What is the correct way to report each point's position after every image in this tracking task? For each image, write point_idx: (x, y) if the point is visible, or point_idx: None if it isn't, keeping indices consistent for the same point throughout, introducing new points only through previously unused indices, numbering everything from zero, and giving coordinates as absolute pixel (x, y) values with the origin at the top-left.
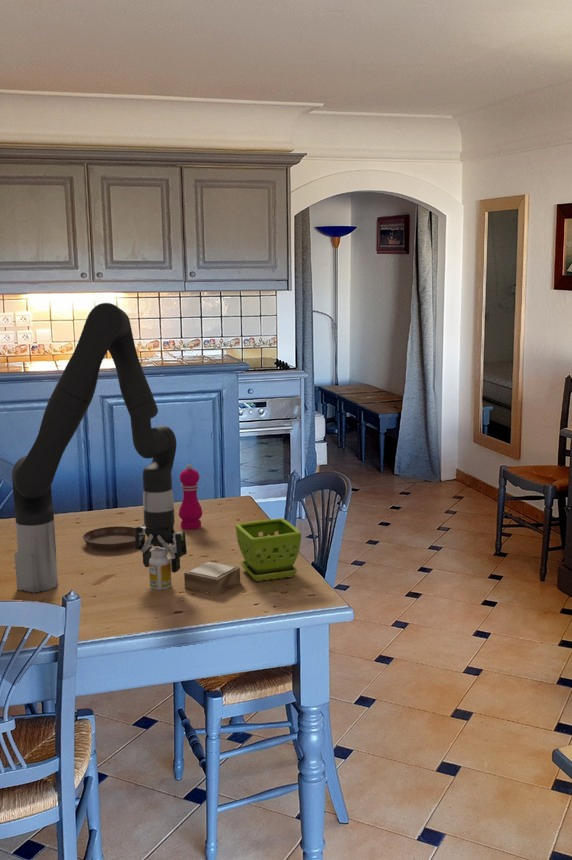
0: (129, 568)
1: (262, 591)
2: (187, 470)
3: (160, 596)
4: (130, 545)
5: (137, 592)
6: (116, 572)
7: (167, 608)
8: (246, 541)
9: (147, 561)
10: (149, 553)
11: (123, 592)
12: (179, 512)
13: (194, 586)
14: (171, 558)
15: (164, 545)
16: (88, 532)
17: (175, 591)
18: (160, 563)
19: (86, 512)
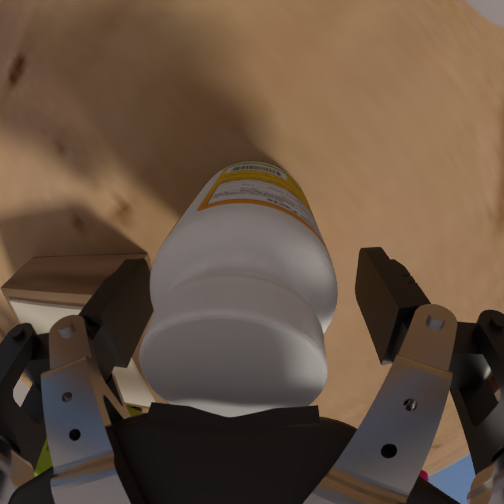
0: (473, 298)
1: (16, 325)
2: None
3: (156, 113)
4: (493, 383)
5: (300, 86)
6: (498, 248)
7: (53, 55)
8: (40, 456)
9: (371, 278)
10: (383, 339)
11: (363, 56)
12: (426, 479)
13: (97, 263)
14: (101, 320)
15: (75, 412)
16: None
17: (148, 202)
18: (167, 243)
19: None
